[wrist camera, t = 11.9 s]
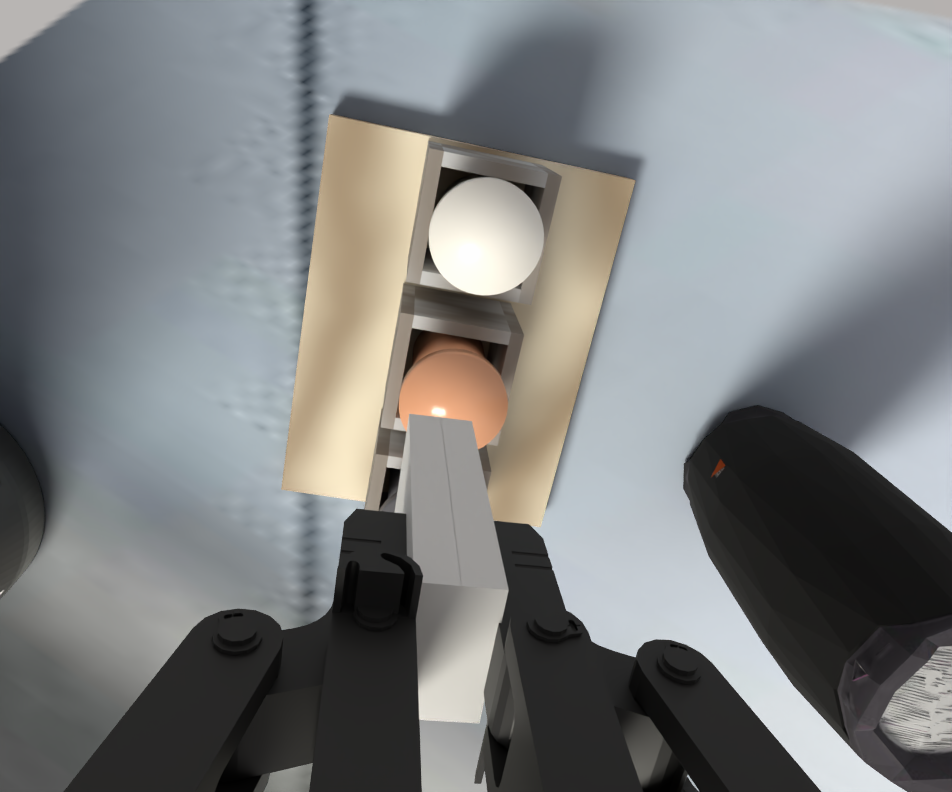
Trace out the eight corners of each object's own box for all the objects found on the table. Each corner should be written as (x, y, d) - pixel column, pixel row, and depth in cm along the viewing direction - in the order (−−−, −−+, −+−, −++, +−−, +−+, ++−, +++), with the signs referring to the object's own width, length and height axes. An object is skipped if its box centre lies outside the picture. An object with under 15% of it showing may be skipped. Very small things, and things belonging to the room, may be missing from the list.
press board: (284, 479, 43) (261, 544, 37) (332, 114, 36) (313, 118, 30) (537, 516, 45) (556, 583, 39) (629, 178, 38) (669, 194, 32)
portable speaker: (643, 455, 44) (798, 705, 26) (785, 367, 43) (1055, 567, 24) (710, 554, 47) (891, 842, 29) (845, 475, 45) (1126, 726, 27)
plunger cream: (419, 251, 37) (419, 284, 30) (437, 154, 35) (440, 168, 29) (511, 269, 37) (529, 304, 31) (532, 174, 36) (556, 192, 29)
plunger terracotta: (395, 388, 38) (390, 446, 32) (411, 302, 37) (409, 345, 30) (483, 403, 39) (495, 462, 33) (502, 319, 37) (518, 365, 31)
